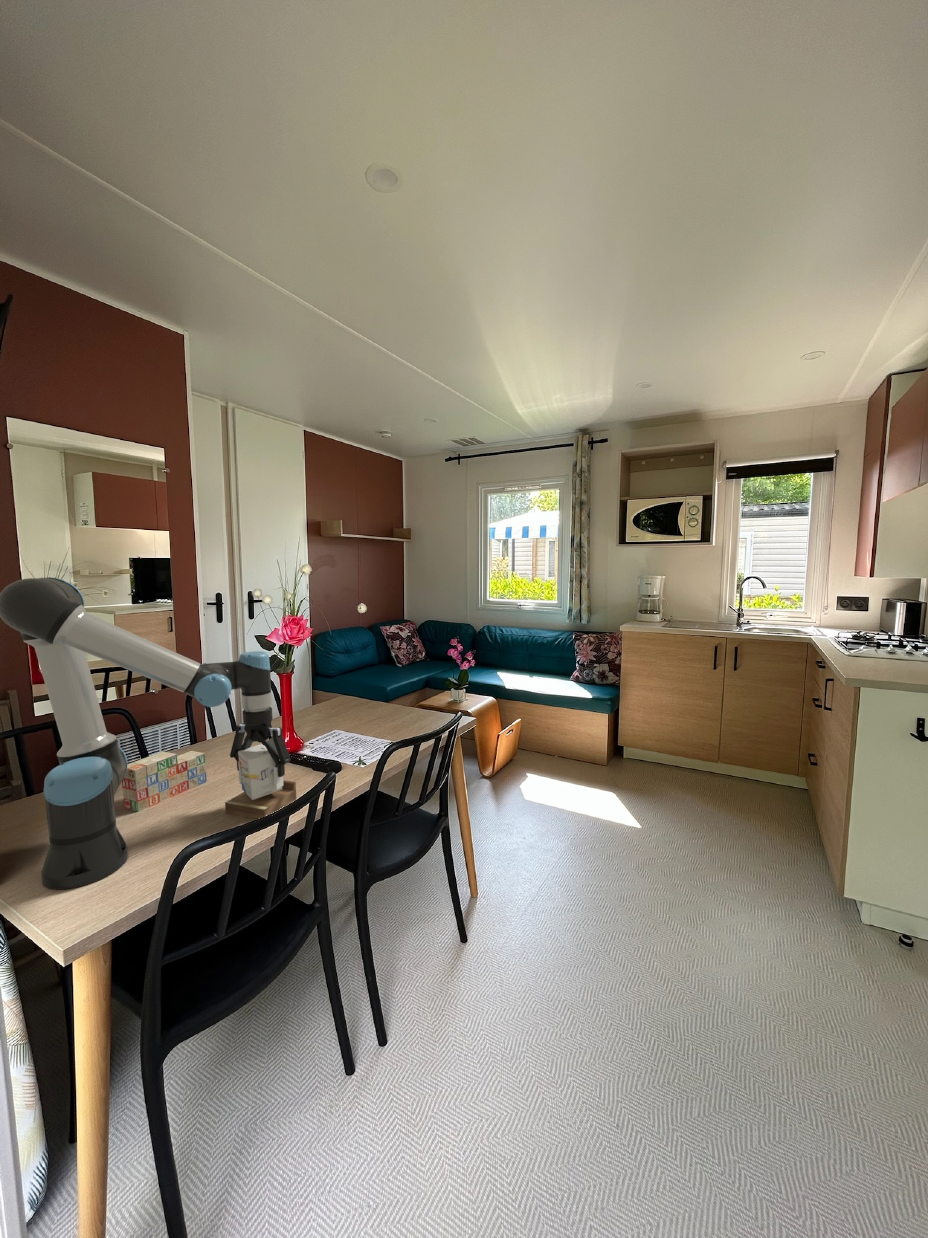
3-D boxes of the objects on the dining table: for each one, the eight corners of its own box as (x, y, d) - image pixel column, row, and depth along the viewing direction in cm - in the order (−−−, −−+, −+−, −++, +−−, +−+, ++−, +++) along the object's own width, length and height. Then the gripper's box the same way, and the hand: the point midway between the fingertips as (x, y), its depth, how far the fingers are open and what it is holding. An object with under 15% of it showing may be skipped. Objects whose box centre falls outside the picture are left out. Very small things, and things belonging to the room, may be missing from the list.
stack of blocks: (193, 778, 155) (191, 741, 154) (207, 781, 153) (204, 743, 151) (123, 808, 136) (120, 765, 135) (137, 812, 133) (134, 769, 132)
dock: (264, 820, 128) (264, 802, 128) (225, 813, 132) (224, 795, 132) (296, 798, 141) (295, 782, 140) (259, 792, 145) (258, 776, 144)
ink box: (241, 789, 136) (236, 750, 135) (271, 779, 142) (267, 741, 140) (251, 801, 130) (247, 760, 128) (283, 789, 136) (279, 750, 134)
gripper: (302, 707, 133) (305, 784, 136) (233, 701, 141) (237, 774, 143) (284, 715, 126) (287, 796, 128) (212, 708, 134) (217, 785, 136)
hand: (261, 784), depth 136 cm, fingers closed on ink box, 11 cm apart
